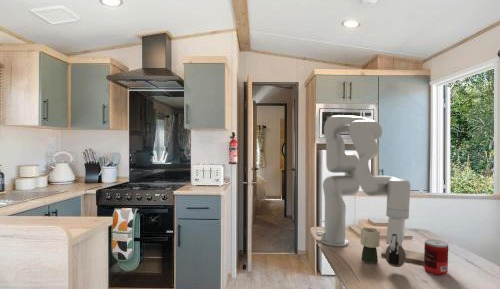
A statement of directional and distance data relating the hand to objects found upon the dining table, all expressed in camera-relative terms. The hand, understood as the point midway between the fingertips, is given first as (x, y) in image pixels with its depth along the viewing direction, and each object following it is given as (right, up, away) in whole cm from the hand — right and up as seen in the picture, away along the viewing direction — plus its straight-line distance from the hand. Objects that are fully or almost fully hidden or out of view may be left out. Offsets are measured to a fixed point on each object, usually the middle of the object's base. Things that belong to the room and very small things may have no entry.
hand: (395, 260), depth 120 cm
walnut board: (+11, -4, +16) cm, 20 cm away
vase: (0, -2, 0) cm, 2 cm away
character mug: (-6, -5, +10) cm, 13 cm away
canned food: (+16, -5, +1) cm, 17 cm away
